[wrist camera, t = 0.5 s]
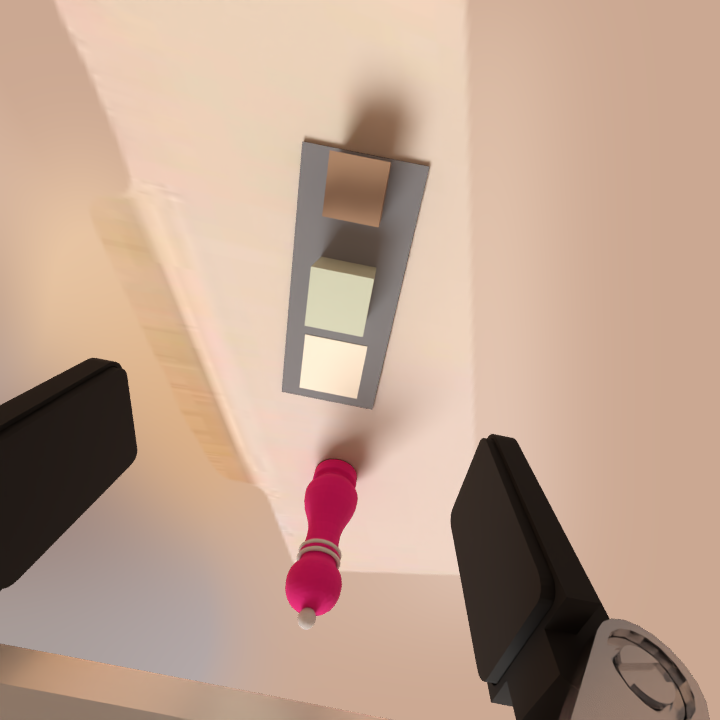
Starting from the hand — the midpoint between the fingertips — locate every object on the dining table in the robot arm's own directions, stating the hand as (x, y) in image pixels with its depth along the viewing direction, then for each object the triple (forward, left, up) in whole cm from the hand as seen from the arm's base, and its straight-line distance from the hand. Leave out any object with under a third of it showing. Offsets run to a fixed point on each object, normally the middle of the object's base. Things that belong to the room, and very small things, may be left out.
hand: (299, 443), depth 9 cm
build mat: (+6, -2, -30) cm, 31 cm away
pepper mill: (+33, +1, -31) cm, 45 cm away
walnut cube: (-5, -2, -30) cm, 31 cm away
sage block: (+5, -2, -30) cm, 30 cm away
